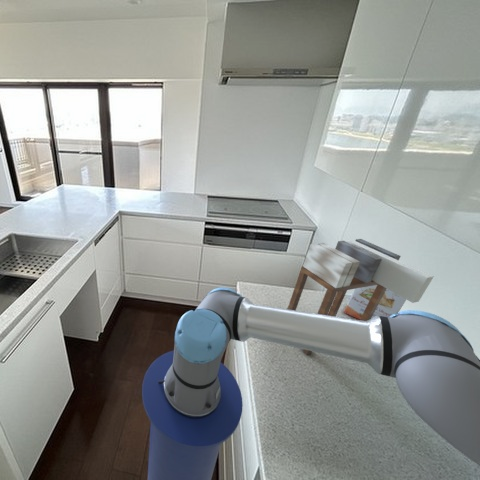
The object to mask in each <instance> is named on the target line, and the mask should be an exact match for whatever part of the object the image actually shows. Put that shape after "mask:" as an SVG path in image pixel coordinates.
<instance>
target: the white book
mask: <svg viewBox="0 0 480 480" xmlns="http://www.w3.org/2000/svg"><path fill="white" fill-rule="evenodd" d="M346 242H348V243H350V244H352V245H354V246H356V247H358V248H360V249H363V250H365V251H367V252H369V253H371V254H373V255H375V256H378V257H380V258H382V260H381V262H380V264H379V266H378V268H377V270H376V272H375V274H374V276H373V279H372V281H374V282H376V283H378V284H380V285H381V286H383V287H385V288H387V289H389V290H390V291H392V292H394V293H396V294H398V295H399V296H401V297H403V298H405V299H406V301H409V302H410V303H411V304H412V303H413V304H414V303H418V302H420V301H421V299H422V297H423V296H424V294H425V292H426V290H427V289H428V287H429V286H430V284H431V282H432V280H433V279H434V277H435V276H434V275H433V274H432V275H431V274H430V273H427V272H426V271H424V270H421V269H418V268H416V267H414V266H412V265H410V264H408V263H405V262H403V261H401V260H400V259H399V260H396V259H394V258H392V257H390V256H387V255H385V254H383V253H381V252H379V251H376V250H374V249H372V248H370V247H368V246H365V245H363V244H361V243H359V242H356V241H355V239H347V240H346Z"/></svg>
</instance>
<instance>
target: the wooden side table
mask: <svg viewBox="0 0 480 480" xmlns="http://www.w3.org/2000/svg"><path fill="white" fill-rule="evenodd" d="M354 241H356V242H359V243H361V244H363V245H365V246H368V247H370V248H372V249H374V250H376V251H379V252H381V253H383V254H385V255H387V256H390V257H392V258H394V259H396V260H399V261H400V258H401V257H402V256H401V255H400V254H397V253H394V252H392V251H391V250H388V249H386V248H384V247H381V246H378V245H377V244H374V243H372V242H370V241H367V240H365V239H363V238H355V239H354ZM381 260H382V258H380V257H378V256H375V255H373V254H371V253H369V252H367V251H365V250H363V249H360V248H358V247H356V246H354V245H352V244H350V243H348V242H347V241H346V240H338V241H337V243H336V245H335V248H334V247H332V246H331V245H328V244H327V243H325V242H319V243H310V244H309V247H308V250H307V253H306V256H305V259H304V262H303V265H302V266H301V267H300V270H299V273H298V276H297V279H296V283H295V285H294V288H293V291H292V294H291V297H290V300H289V304H288V306H287V309H288V310H295V311H297V308H298V306H299V303H300V299H301V296H302V294H303V291H304V288H305V285H306V282H307V280H308V277H309V278H310V279H312V280H313V281H315V282H316V283H317V284H319V285H321V286H322V287H324V289H326V291H325V294H324V295H323V299H322V301H321V304H320V306H319V309H318V311H317V313H316V314H322V315H328V316H335V317H337V314H338V312H339V311H340V307H341V306H342V303H343V301H344V299H345V296H346V294H347V292H348V291H350V290H354V289H356V288H362V287H368V286H373V285H377V287H376V289H375V291H374V293H373V295H372V297H371V299H370V301H369V303H368V305H367V307H366V309H365V311H364V313H363V315H362V317H361V319H360V320H362V321H368V320H370V319H371V317H372V316H373V314H374V312H375V310H376V308H377V306H378V304H379V302H380V300H381V298H382V296H383V295H384V293H385V291H386V289H387V288H385V287H383V286H381V285H380V284H378V283H376V282H374V281H372V279H373V276H374V274H375V272H376V270H377V268H378V266H379V264H380V262H381ZM302 352H304V353H305V354H306V355H311V354H312V352H313V351H309V350H305V349H302Z"/></svg>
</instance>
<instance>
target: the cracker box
mask: <svg viewBox="0 0 480 480" xmlns="http://www.w3.org/2000/svg"><path fill="white" fill-rule="evenodd" d="M376 287H377V285H373V286H368V287H362V288H356V289H353V292H352V294H351V296H350V298H349V299H348V303H347V305H346V306H345V308H344V310H343V313H345V314H347V315H349V316H350V317H353V318H355V319H356V320H360V319H361V317H362V315H363V313H364V311H365V309H366V307H367V305H368V303H369V301H370V299H371V297H372V295H373V293H374V291H375V289H376ZM406 301H407V299H405V298H403V297H401V296H399V295H398V294H396V293H394V292H392V291H390V290H389V289H386V291H385V293H384V295H383V296H382V298H381V300H380V302H379V304H378V306H377V308H376V310H375V312H374V314H373V316H372V317H371V319H372V318H373V317H375V316H384V317H390V316H391V315H393V314H398V313H399V312H401V309H402V308H403V306H404V304H405V303H406Z"/></svg>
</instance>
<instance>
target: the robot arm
mask: <svg viewBox="0 0 480 480" xmlns="http://www.w3.org/2000/svg"><path fill="white" fill-rule="evenodd" d="M175 328H176V329H175V332H174V345H173V346H174V347H173V351H174V356H173V364H172V365H171V367H170V368H169V370H168V372H167V374H166V376H165V380H162V381H158V383H159V384H162V383H164V394H165V397H166V400H167V402H168V403H169V405H170V406H171V407H172V408H173V409H174V410H175V411H176V412H177V413H179V414H180V415H182V416H184V417H187V418H192V419H200V418H205V417H207V416H209V415H210V414H212V413H213V412H214V411H215V410H216V408H217V407H218V404H219V401H220V397H221V387H220V382H219V378H218V371H219V367H220V362H221V363H222V358H223V356H224V354H225V351H226V350H227V348H228V346H229V343H230V342H231V340H234V341H237V342H242V343H244V342H246V341H247V340H249V339H250V338H251V339H256V340H261V341H265V342H268V343H269V342H270V343H272V344H273V343H274V344H278V345H282V346H287V347H292V348H296V349H301V350H303V349H305V350H309V351H312V352H313V353H319V354H323V355H327V356H333V357H337V358H342V359H346V360H350V361H354V362H359V363H362V364H363V363H364V364H367V365H368V366H370V367H371V368H372V369H373V371H374V372H375V373H376V374H378V375H382V376H386V377H389V378H394V379H395V382H396V384H397V387H398V390H399V392H400V394H401V396H402V397H403V399H404V401H405V402H406V403H407V404H408V405H409V407H410V409H412V410H413V411H414V413H415V414H416V415H417V416H418V417H419V418H420V419H421V420H422V421H423V422H424V423H425V425H427V426H429V428H430V429H432V430H433V431H434V432H435V433H437V434H438V436H440V437H441V438H442V439H443V440H444V441H446V443H448V444H450V445H451V446H452V447H453V448H454V449H456V450H457V451H458V452H460V453H461V454H462V455H464V456H465V457H467V458H468V459H469V460H470V461H472V462H474V463H475V464H476V465H478V466H479V467H480V358H479V357H478V356H477V355H476V353H475V352H474V348H473V346H472V344H471V342H470V341H469V339H468V338H467V337H466V336H465V335H464V334H463V333H462V332H461V331H460V330H459V328H458V327H456V326H455V325H454V324H453V323H451V322H450V321H449V320H447V319H445V318H443V317H441V316H440V315H437V314H435V313H431V312H427V311H422V310H414V309H411V310H402V311H401V310H400V311H399V313H398V314H393V315H391V316H390V317H384V316H375V317H373V318H372V319H370V320H368V321H362V320H359V319H356V318H355V319H354V318H347V317H342V316H336V317H335V316H328V315H322V314H317V313H313V312H307V311H302V310H296V311H295V310H288V308H281V307H280V308H279V307H274V306H268V305H261V304H256V303H255V304H254V303H253V302H252V301H251V300H250V299H249V297H245V296H242V294H241V293H238V291H236V290H235V289H233V288H230V287H217V288H214V289H212V290H211V291H210V292H208V293H207V294H206V295H205V296H203V299H202V300H201V302H200V303H199V305H198V306H197V307H196V308H195V310H193V309H191V310H188V311H186V312H185V313H184V314H182V316H181V317H180V318H179V320H178V322H177V325H176V327H175Z"/></svg>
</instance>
